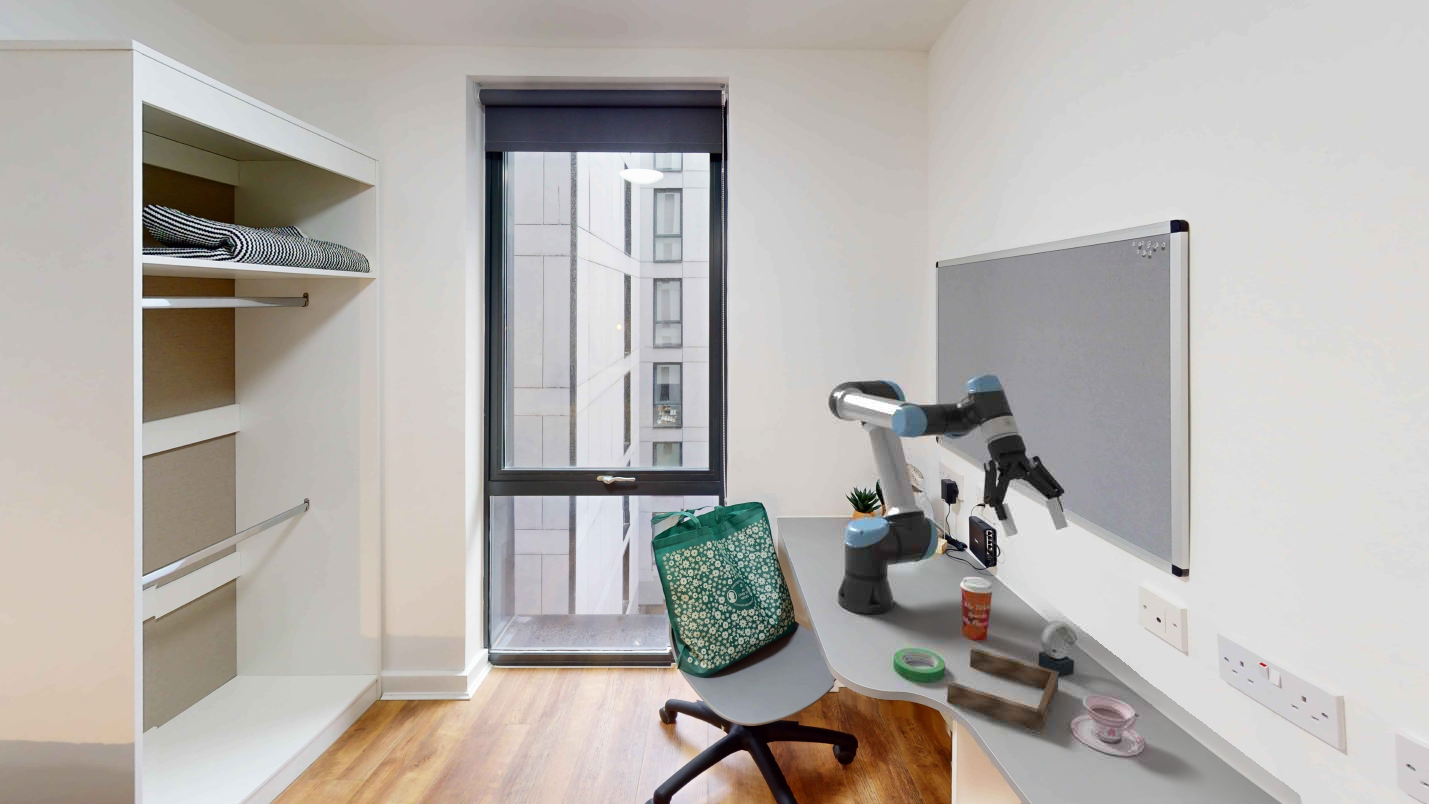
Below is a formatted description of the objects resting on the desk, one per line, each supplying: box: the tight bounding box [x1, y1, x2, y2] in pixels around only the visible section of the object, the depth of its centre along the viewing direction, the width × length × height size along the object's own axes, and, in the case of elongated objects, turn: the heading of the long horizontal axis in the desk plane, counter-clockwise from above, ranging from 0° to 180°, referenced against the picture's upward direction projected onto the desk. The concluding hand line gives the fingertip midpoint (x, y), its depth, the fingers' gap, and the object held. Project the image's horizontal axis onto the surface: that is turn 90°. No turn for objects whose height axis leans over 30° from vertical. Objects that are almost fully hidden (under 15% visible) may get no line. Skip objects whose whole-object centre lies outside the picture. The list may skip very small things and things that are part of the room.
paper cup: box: [959, 576, 995, 642], centre depth 160 cm, size 8×8×14 cm
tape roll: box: [893, 647, 946, 684], centre depth 145 cm, size 11×11×3 cm
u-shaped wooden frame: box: [946, 647, 1060, 734], centre depth 134 cm, size 18×18×4 cm
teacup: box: [1069, 694, 1145, 758], centre depth 121 cm, size 12×12×6 cm
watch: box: [1037, 620, 1079, 678], centre depth 144 cm, size 6×8×11 cm
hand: (1037, 531), depth 138 cm, fingers open, 13 cm apart
